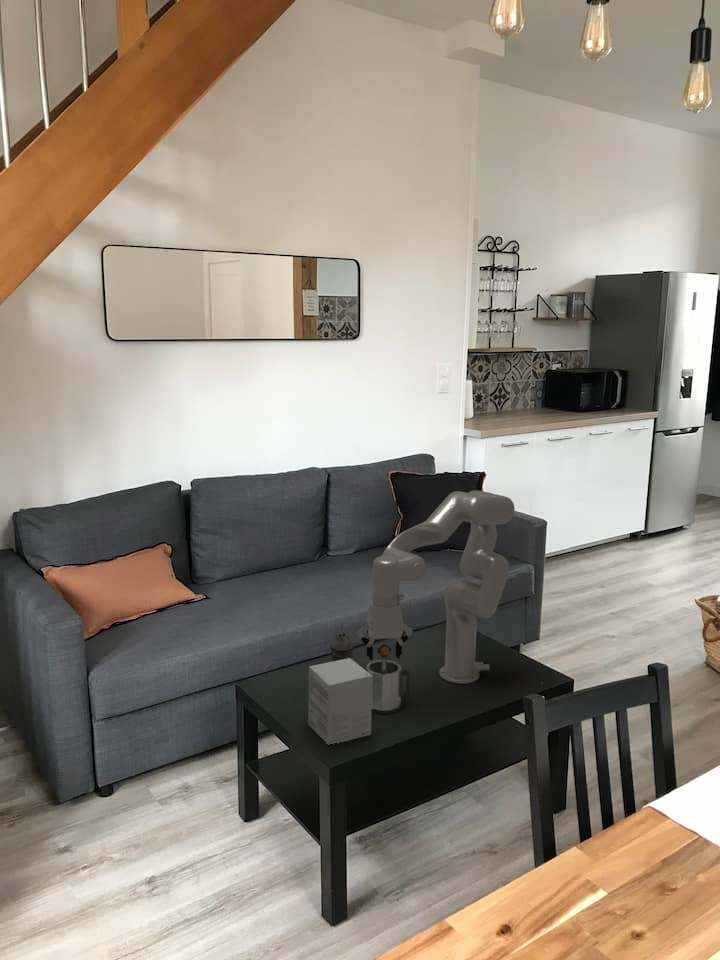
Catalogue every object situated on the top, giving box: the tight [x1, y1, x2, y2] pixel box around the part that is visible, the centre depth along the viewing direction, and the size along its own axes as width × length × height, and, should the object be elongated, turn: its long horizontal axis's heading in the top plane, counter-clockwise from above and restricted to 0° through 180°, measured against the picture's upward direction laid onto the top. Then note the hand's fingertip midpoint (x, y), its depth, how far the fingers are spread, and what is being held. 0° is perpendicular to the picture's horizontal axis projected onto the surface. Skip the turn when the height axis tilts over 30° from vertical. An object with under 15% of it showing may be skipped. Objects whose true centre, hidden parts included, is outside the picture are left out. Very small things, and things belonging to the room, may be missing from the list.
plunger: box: [376, 642, 392, 674], centre depth 226 cm, size 8×8×16 cm
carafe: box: [365, 659, 411, 715], centre depth 227 cm, size 13×10×12 cm
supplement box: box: [307, 658, 372, 746], centre depth 212 cm, size 13×13×18 cm
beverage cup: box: [330, 621, 355, 662], centre depth 241 cm, size 7×7×20 cm
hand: (384, 657), depth 225 cm, fingers open, 7 cm apart
